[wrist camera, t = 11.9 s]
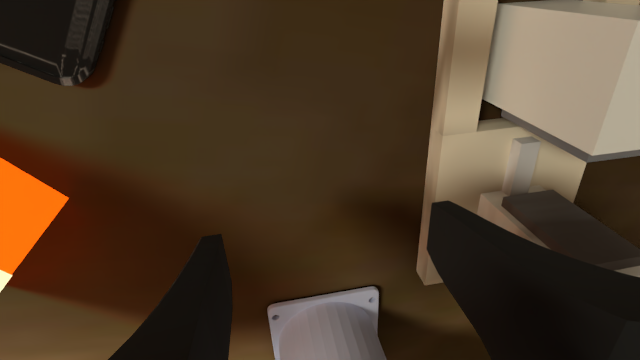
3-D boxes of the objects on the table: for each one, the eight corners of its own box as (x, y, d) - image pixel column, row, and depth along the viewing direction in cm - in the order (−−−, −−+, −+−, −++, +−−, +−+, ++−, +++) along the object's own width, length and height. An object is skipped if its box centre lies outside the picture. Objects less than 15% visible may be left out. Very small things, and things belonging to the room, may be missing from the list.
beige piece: (539, 249, 29) (657, 357, 21) (416, 270, 28) (491, 396, 19) (632, -58, 19) (922, -81, 11) (448, -49, 18) (625, -67, 10)
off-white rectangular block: (540, 101, 23) (670, 157, 16) (479, 108, 22) (587, 169, 15) (566, -1, 20) (736, 13, 13) (497, 3, 20) (638, 20, 13)
